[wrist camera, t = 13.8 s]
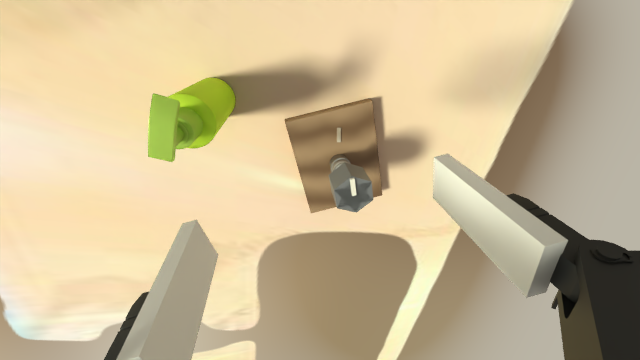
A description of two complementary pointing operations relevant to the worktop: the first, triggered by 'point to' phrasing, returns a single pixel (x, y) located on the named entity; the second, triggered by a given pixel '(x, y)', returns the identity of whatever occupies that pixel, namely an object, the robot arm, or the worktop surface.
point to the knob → (350, 187)
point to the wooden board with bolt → (334, 148)
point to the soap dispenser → (188, 117)
